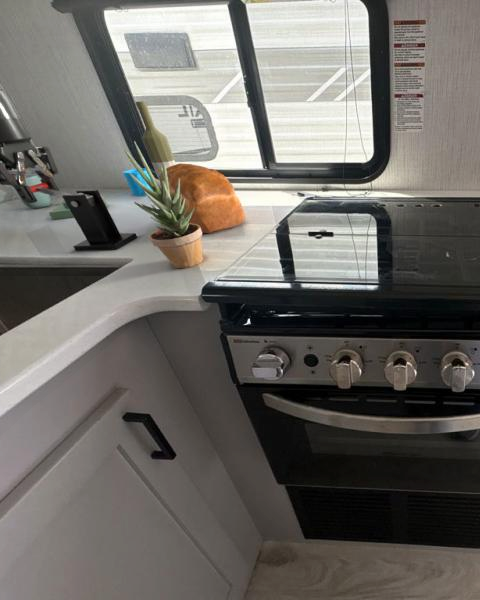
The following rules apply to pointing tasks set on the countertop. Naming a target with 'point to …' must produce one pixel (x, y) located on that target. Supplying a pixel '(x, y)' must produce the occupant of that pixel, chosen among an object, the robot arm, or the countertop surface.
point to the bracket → (95, 223)
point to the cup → (41, 198)
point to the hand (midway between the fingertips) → (43, 198)
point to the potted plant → (170, 219)
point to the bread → (206, 197)
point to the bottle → (155, 142)
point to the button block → (63, 211)
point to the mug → (132, 184)
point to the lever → (57, 192)
